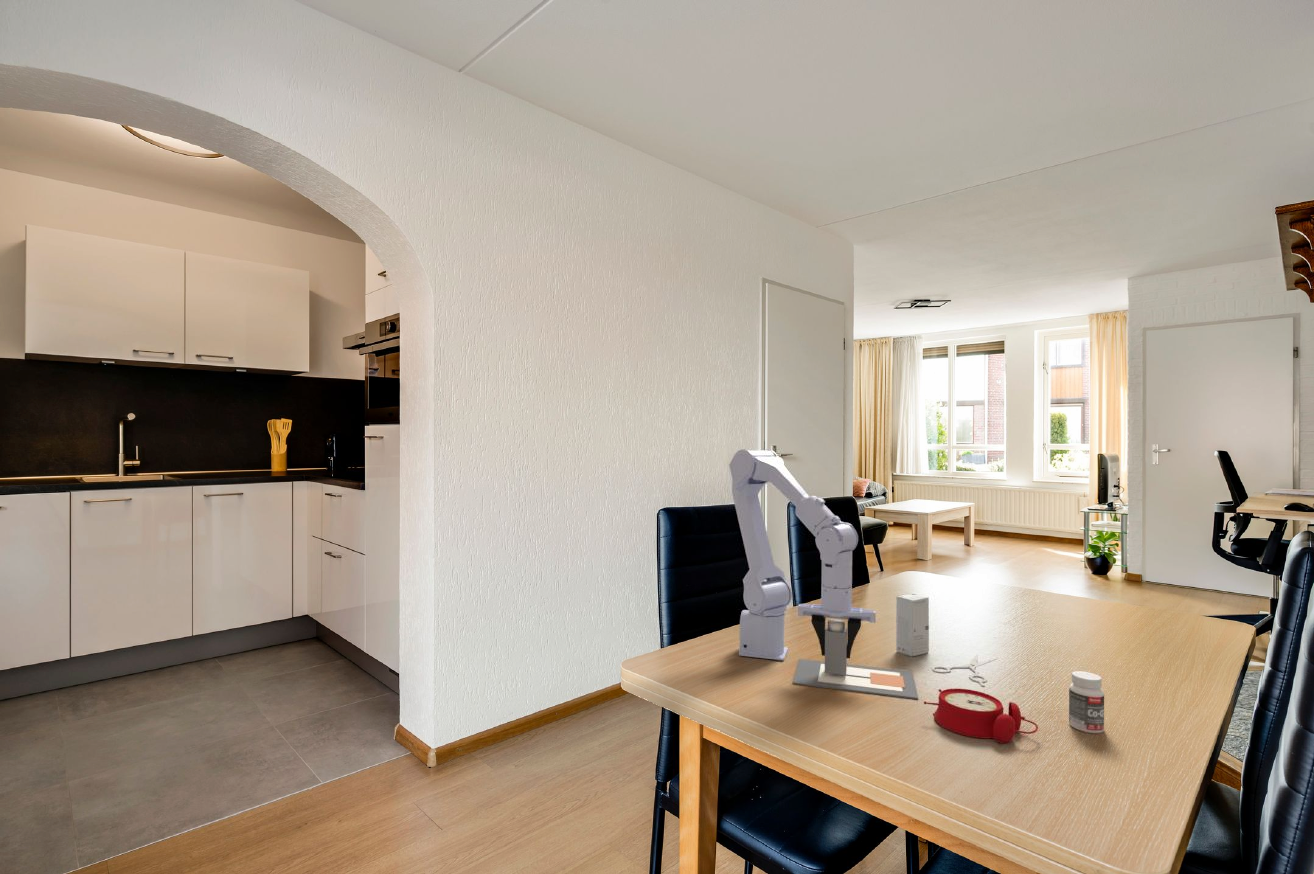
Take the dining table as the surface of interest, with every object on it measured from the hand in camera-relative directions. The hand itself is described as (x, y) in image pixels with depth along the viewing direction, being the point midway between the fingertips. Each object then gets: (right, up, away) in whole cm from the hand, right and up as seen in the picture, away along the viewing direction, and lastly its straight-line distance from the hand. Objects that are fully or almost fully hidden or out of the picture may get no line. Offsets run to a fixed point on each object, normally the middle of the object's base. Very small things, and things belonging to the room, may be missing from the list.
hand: (835, 655), depth 125 cm
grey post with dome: (0, -3, 0) cm, 3 cm away
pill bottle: (+34, -5, -22) cm, 41 cm away
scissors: (+30, -5, +6) cm, 31 cm away
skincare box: (+21, -5, +15) cm, 26 cm away
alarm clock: (+17, -5, -22) cm, 28 cm away
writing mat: (+3, -4, -1) cm, 5 cm away
